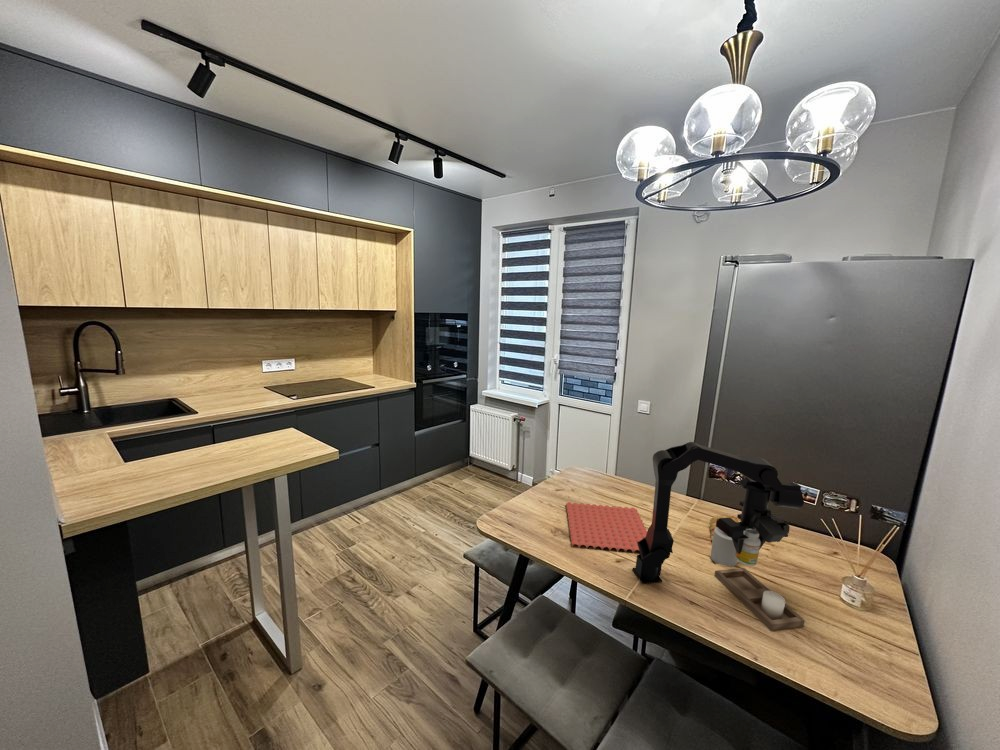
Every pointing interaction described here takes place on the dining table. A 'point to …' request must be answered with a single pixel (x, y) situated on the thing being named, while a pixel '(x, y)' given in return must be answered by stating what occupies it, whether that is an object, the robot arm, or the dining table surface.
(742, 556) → the supplement bottle
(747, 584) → the caddy
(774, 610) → the white rounded cylinder
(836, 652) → the dining table surface
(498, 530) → the dining table surface
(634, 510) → the red studded mat
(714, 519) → the croissant
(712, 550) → the can
